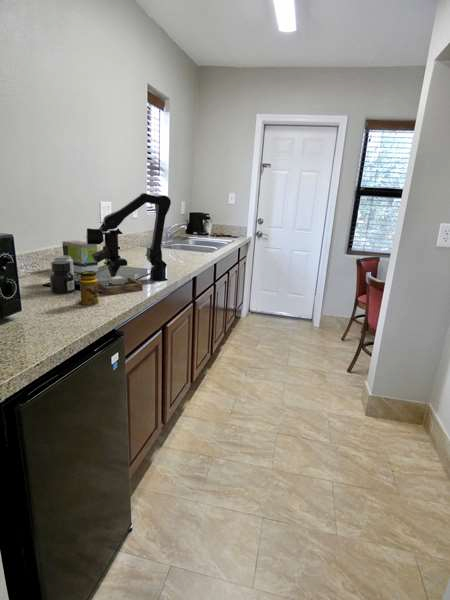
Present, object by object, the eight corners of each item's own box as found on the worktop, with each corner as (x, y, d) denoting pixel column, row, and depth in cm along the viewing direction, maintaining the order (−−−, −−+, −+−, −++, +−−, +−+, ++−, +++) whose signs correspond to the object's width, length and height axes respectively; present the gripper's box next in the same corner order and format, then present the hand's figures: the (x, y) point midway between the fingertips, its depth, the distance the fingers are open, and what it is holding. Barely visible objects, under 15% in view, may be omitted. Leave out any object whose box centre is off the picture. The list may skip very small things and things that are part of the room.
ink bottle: (75, 293, 140) (73, 264, 137) (51, 295, 137) (48, 265, 133) (74, 287, 149) (72, 259, 145) (50, 289, 145) (48, 260, 141)
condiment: (98, 306, 127) (96, 274, 123) (73, 307, 125) (71, 274, 121) (100, 300, 133) (99, 270, 130) (76, 301, 131) (74, 269, 128)
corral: (129, 284, 159) (129, 277, 158) (142, 290, 150) (142, 283, 150) (94, 288, 149) (94, 281, 148) (106, 295, 140) (106, 288, 139)
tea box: (99, 271, 181) (97, 242, 176) (82, 274, 173) (80, 244, 168) (80, 267, 188) (78, 239, 184) (63, 269, 180) (61, 240, 176)
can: (67, 285, 151) (65, 258, 147) (52, 284, 152) (49, 256, 149) (77, 282, 158) (76, 255, 155) (63, 280, 159) (60, 254, 156)
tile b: (103, 283, 158) (102, 277, 157) (108, 286, 155) (108, 279, 154) (92, 285, 155) (92, 278, 154) (98, 287, 151) (97, 281, 151)
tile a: (120, 282, 163) (120, 276, 162) (124, 284, 159) (124, 278, 158) (109, 283, 160) (109, 277, 159) (113, 285, 156) (113, 279, 155)
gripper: (85, 242, 158) (87, 275, 162) (102, 248, 144) (104, 284, 149) (109, 241, 165) (110, 273, 169) (127, 246, 152) (128, 281, 156)
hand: (112, 278), depth 161 cm, fingers closed
